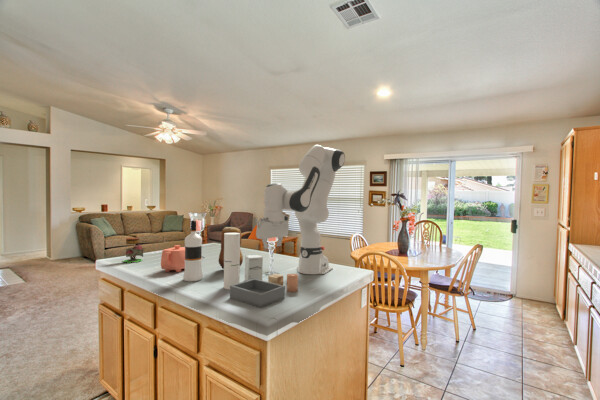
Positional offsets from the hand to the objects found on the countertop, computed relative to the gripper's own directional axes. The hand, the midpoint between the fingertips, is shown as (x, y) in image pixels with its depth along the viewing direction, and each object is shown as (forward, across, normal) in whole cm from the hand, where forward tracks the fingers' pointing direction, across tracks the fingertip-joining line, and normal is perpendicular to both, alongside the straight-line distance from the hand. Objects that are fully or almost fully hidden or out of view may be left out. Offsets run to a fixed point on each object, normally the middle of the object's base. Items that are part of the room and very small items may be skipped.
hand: (272, 247), depth 136 cm
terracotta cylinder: (+19, +2, -10) cm, 22 cm away
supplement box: (+19, +2, +14) cm, 23 cm away
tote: (+19, -15, -4) cm, 25 cm away
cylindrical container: (+19, -11, +16) cm, 27 cm away
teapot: (+18, -6, +65) cm, 68 cm away
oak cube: (+19, +2, 0) cm, 19 cm away
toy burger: (+18, -9, +108) cm, 109 cm away
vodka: (+19, -13, +41) cm, 47 cm away
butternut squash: (+18, +11, +39) cm, 45 cm away
